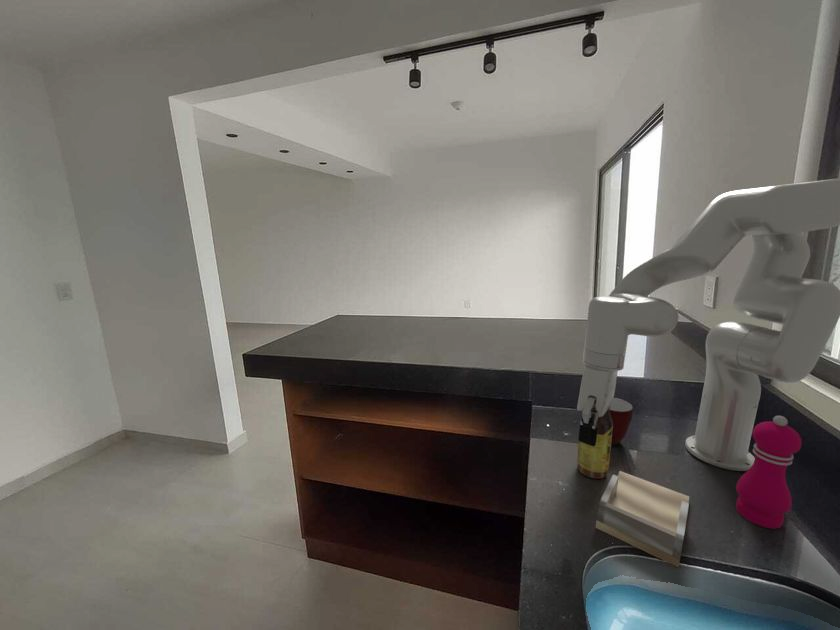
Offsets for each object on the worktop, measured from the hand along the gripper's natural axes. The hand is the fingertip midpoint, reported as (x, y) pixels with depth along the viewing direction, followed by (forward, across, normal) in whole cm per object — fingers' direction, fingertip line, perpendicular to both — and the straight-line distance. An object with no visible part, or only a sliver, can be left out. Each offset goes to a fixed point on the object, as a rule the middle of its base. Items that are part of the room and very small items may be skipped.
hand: (593, 433), depth 76 cm
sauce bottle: (+9, 0, 0) cm, 9 cm away
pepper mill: (+9, -6, +27) cm, 30 cm away
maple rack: (+9, +6, +11) cm, 16 cm away
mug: (+9, -16, -1) cm, 19 cm away
